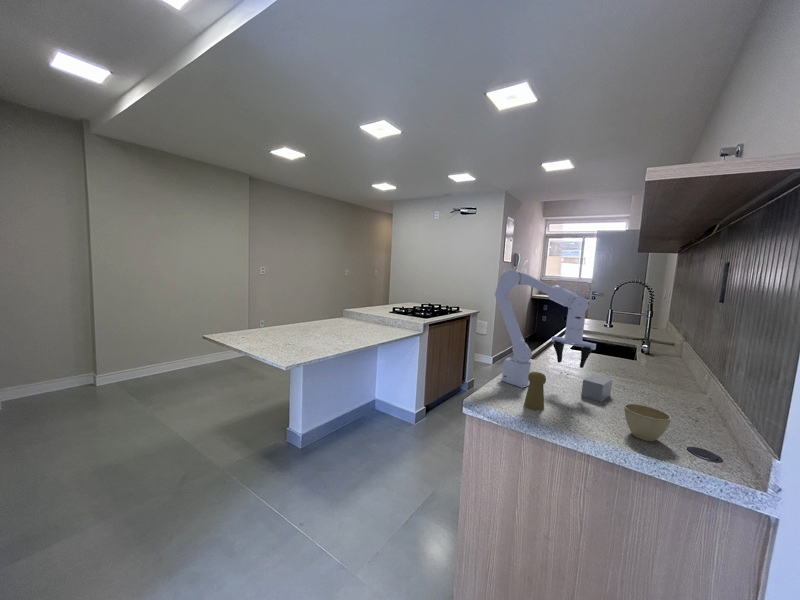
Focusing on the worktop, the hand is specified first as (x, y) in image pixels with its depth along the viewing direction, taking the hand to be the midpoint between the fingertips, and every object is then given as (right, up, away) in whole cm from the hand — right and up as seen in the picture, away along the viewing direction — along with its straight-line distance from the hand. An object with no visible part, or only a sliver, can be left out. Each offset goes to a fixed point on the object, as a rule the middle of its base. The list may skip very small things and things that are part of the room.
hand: (570, 364), depth 119 cm
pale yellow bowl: (+3, -13, -32) cm, 35 cm away
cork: (-20, -10, -16) cm, 28 cm away
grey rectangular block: (+8, -11, -2) cm, 14 cm away
